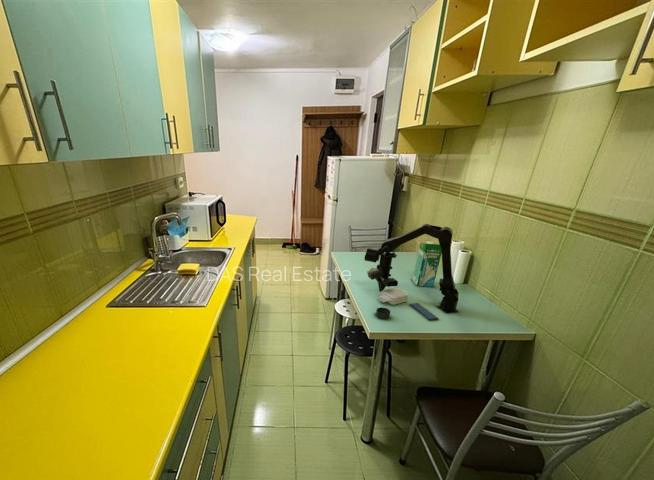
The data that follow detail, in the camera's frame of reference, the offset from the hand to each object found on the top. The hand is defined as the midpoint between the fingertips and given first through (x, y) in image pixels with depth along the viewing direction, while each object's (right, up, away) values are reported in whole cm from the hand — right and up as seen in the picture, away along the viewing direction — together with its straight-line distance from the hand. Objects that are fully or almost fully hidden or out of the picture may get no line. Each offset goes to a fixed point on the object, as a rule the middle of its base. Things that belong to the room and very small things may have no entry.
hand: (380, 291), depth 161 cm
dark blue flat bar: (+15, -9, -16) cm, 24 cm away
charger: (+2, -5, -7) cm, 9 cm away
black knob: (-6, -11, -21) cm, 24 cm away
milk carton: (+29, +4, +15) cm, 33 cm away
